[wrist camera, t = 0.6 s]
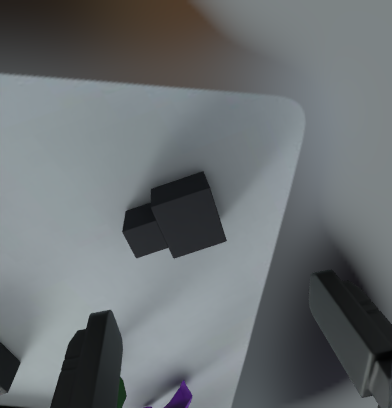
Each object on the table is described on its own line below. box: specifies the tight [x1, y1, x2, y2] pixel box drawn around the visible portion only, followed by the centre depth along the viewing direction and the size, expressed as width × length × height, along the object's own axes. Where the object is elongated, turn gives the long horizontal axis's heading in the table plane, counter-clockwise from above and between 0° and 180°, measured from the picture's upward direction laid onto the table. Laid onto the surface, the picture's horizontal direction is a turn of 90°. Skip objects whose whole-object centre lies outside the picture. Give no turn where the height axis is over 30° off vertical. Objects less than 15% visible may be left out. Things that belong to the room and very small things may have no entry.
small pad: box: [122, 172, 227, 258], centre depth 27 cm, size 6×8×4 cm
